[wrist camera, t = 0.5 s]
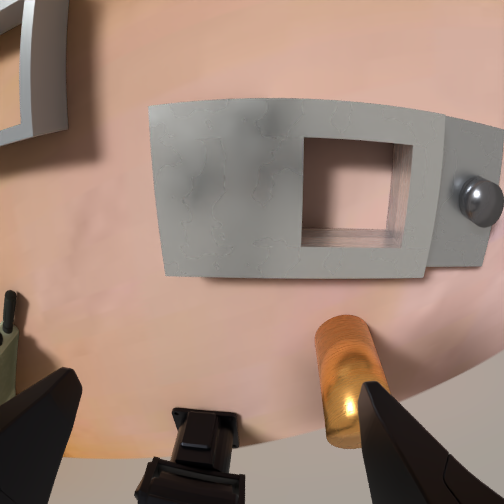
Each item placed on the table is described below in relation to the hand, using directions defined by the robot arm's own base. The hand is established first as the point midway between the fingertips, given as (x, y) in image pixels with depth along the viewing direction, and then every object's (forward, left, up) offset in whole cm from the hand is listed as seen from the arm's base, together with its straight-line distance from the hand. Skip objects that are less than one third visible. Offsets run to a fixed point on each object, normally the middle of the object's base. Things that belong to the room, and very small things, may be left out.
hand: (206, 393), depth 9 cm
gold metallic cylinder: (-9, -7, -14) cm, 18 cm away
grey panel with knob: (+3, -6, -14) cm, 15 cm away
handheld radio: (-16, +30, -14) cm, 36 cm away
